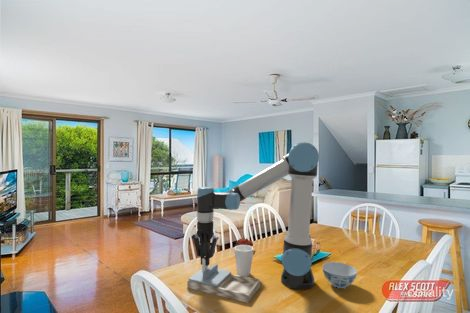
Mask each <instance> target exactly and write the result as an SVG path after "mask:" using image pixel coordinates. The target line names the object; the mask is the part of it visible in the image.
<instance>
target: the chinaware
mask: <svg viewBox="0 0 470 313" xmlns="http://www.w3.org/2000/svg"><path fill="white" fill-rule="evenodd" d="M321 266H322V267H321V268H322V273H323V275H324V277H325V278H326V280H327V281H328V282H329V283H330V285H331V286H332V285H333V288H336V287H337V288H336V289H339V288H344V289H347V288H346V287H348V286H350V285H351V284H353V283H354V281H355V280H356V278H357V275H358V270H357V269H356V267H354V266H352V265H350V264H347V263H343V262H336V261H327V262H325V263H323V264H322V265H321Z"/></svg>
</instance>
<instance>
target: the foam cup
mask: <svg viewBox="0 0 470 313" xmlns="http://www.w3.org/2000/svg"><path fill="white" fill-rule="evenodd" d="M253 255H254V247H253V246H249V245H238V246H236V245H235V246H234V257H235V266H236V273H237V274H236V275H240V276H245V277H249V276H251V269H252V264H253Z"/></svg>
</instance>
